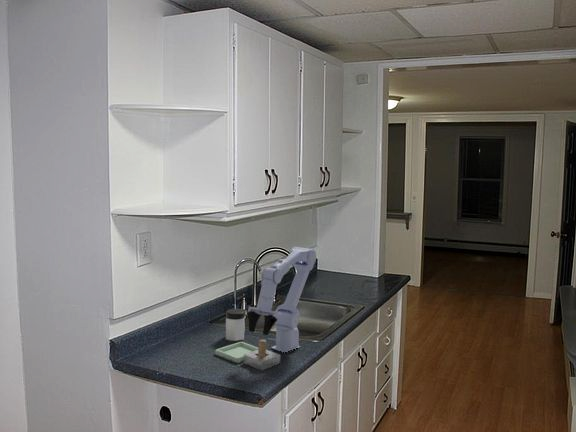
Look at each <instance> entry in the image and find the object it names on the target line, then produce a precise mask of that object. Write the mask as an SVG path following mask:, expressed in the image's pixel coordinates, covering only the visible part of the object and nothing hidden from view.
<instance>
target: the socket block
mask: <svg viewBox="0 0 576 432" xmlns="http://www.w3.org/2000/svg"><path fill="white" fill-rule="evenodd" d="M279 363H280V364H281V354H279V353H277V352H273V351H271V350H268V349H266V356H265V357H259V356H258V350H255V351H252V352H250V353H247V354H244V361H243V364H244V365H247V366H249V367H252V368H254V369H256V370H259V371H265V370H267V369H270V368H272V366H273V367H275V366H277V364H278V365H280V364H279ZM274 365H275V366H274Z"/></svg>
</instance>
